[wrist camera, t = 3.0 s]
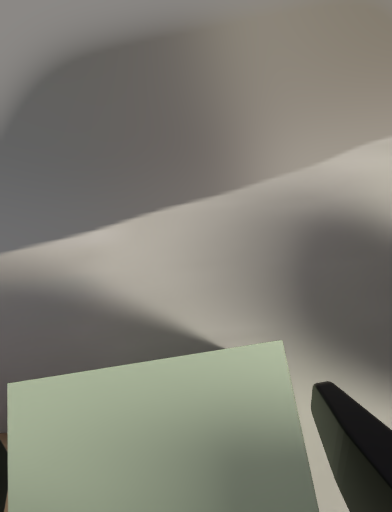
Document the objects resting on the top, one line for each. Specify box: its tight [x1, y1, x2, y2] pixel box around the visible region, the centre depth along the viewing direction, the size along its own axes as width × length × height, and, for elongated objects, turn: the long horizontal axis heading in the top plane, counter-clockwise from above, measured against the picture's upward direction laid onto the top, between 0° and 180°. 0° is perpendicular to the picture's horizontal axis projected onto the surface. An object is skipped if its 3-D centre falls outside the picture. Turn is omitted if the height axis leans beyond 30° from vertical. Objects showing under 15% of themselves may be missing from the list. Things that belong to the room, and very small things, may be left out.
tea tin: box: [7, 340, 319, 512], centre depth 11 cm, size 6×6×10 cm
